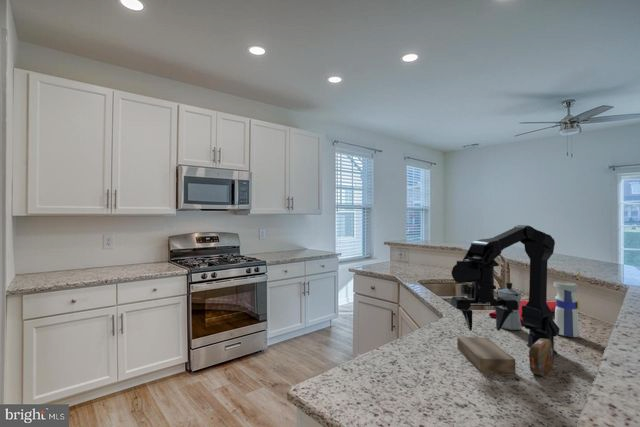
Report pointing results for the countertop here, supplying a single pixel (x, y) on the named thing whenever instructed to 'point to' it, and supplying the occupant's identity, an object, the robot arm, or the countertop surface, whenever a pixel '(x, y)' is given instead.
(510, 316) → the coffee maker
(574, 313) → the water bottle
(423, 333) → the countertop surface
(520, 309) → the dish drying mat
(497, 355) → the walnut plinth
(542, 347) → the tin
